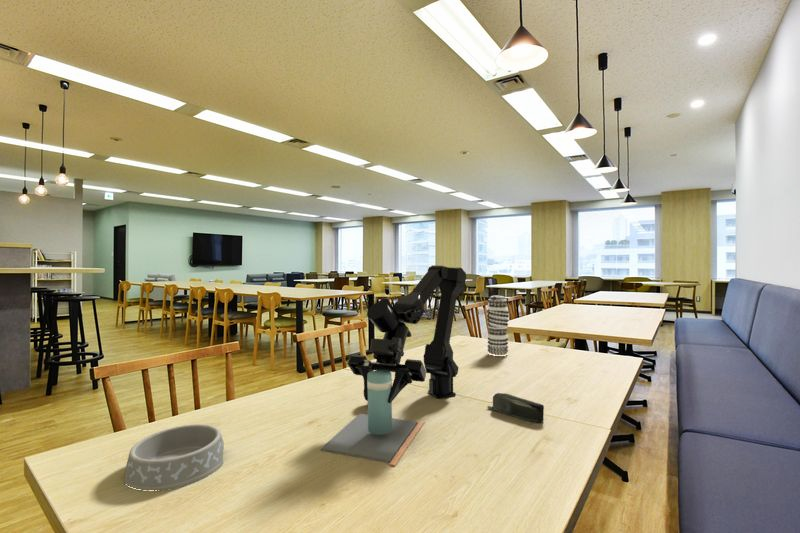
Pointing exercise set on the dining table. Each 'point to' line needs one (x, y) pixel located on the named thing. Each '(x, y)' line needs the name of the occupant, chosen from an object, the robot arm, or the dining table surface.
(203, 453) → the dog bowl
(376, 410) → the teal cylinder
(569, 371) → the dining table surface
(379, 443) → the mat
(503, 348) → the grey patterned cylinder
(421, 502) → the dining table surface
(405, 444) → the orange strip
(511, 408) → the black stapler
